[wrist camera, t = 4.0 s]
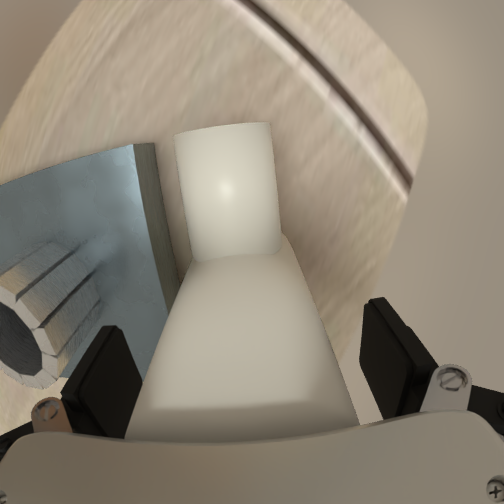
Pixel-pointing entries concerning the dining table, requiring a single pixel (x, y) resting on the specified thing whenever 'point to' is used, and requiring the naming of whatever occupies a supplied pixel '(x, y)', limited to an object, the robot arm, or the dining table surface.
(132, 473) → the robot arm
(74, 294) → the vent box
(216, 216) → the white tall branched piece
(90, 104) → the dining table surface
